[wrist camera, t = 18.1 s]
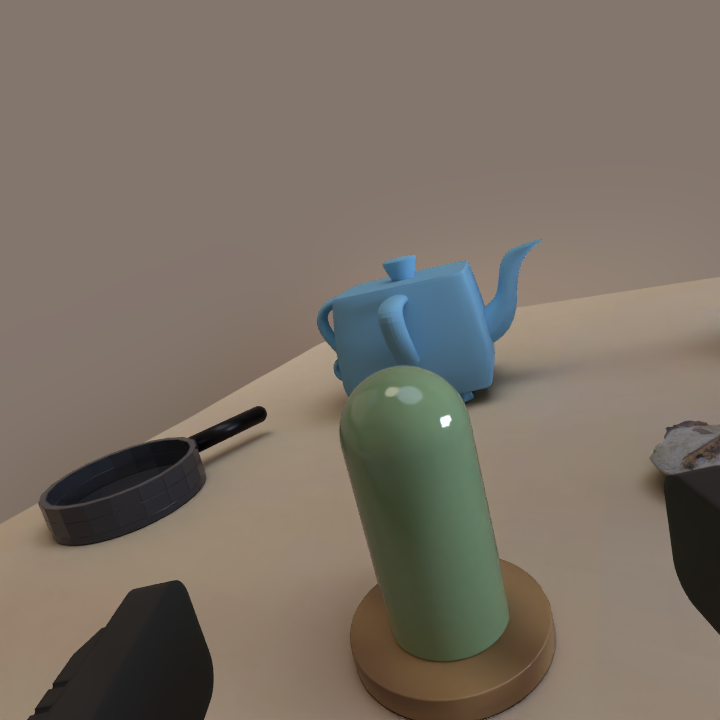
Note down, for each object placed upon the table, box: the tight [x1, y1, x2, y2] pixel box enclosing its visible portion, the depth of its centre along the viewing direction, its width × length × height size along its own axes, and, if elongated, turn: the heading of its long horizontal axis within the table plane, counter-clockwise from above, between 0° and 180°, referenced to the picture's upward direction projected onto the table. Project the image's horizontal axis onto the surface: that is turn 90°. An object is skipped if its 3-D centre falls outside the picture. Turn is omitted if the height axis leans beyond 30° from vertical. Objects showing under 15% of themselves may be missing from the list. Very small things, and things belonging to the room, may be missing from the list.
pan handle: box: [188, 406, 267, 452], centre depth 50 cm, size 9×2×2 cm, turn 134°
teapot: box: [317, 239, 542, 402], centre depth 52 cm, size 18×16×14 cm
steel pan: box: [38, 437, 206, 545], centre depth 44 cm, size 12×12×3 cm
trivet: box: [350, 559, 555, 720], centre depth 22 cm, size 8×8×1 cm
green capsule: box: [339, 365, 510, 662], centre depth 20 cm, size 5×5×10 cm
